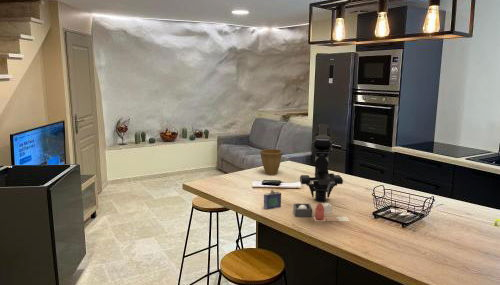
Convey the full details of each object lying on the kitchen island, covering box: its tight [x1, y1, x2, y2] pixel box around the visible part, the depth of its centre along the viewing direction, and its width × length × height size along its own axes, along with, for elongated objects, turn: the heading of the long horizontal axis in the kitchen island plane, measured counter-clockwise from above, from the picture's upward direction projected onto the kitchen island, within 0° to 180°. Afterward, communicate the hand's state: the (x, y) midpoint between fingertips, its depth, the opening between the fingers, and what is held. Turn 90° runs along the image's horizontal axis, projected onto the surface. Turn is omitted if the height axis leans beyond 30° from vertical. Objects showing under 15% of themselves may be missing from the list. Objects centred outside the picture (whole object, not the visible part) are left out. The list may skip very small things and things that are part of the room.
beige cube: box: [321, 202, 333, 215], centre depth 182 cm, size 4×4×4 cm
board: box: [312, 216, 350, 222], centre depth 177 cm, size 14×26×2 cm, turn 91°
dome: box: [298, 205, 307, 209], centre depth 179 cm, size 6×6×4 cm
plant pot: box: [259, 148, 283, 176], centre depth 254 cm, size 15×15×16 cm
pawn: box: [314, 203, 325, 220], centre depth 173 cm, size 4×4×7 cm
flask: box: [263, 189, 282, 210], centre depth 188 cm, size 9×3×11 cm, turn 109°
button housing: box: [292, 203, 313, 218], centre depth 179 cm, size 8×8×4 cm
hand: (320, 197), depth 171 cm, fingers open, 7 cm apart
